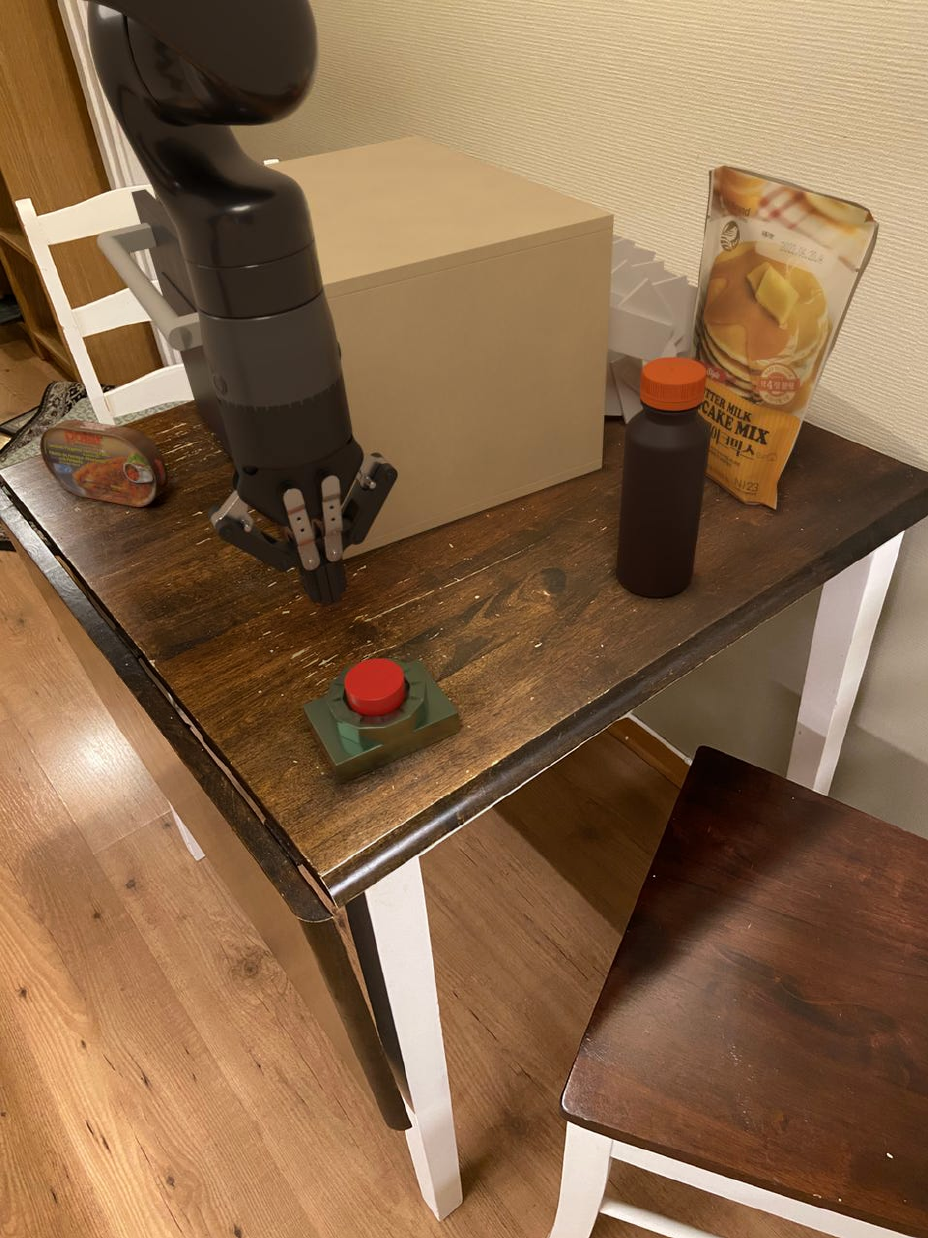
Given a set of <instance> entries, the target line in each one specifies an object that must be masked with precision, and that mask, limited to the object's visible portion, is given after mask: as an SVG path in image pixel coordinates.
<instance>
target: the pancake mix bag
mask: <svg viewBox="0 0 928 1238" xmlns="http://www.w3.org/2000/svg"><path fill="white" fill-rule="evenodd" d="M707 197H708V198H707V205H706V214H705V219H704V220H705V221H704V229H703V242H702V249H701V256H700V262H699V267H698V268H699V269H698V277H697V281H698V282H697V287H698V288H697V294H696V299H695V306H694V313H693V333H692V345H691V360H694V361H696V362H698V363H700V364H702V365H703V366H704V368H705V369H706V370H707V376H706V384H705V393H704V399H703V401H702V402H703V403H702V405H701V407H700V408H699V409H698V413H699V414H700V415H701V416H702V417H703V418H704V419H705V420H706V421H707V423H708V424H709V425H710V429H711V441H710V449H709V456H708V463H707V470H706V476H707V478H709V479H710V480H712V481H713V482H714V483H716V484H718V485H719V486H720V487H721V488H723V489H724V490H725V491H726V492H727V493H728V494H730V495H731V496H733V497H734V498H736V499H737V500H738V501H740V502H742V503H744V504H745V505H764V506H766V507H769V508H771V509H774V510H777V505H778V504H777V503H778V498H779V493H778V483H779V480H780V478H781V476H782V473H783V471H784V468H785V466H786V464H787V462H788V460H789V457H790V455H791V454H792V451H793V449H794V447H795V444H796V441H797V439H798V436H799V433H800V430H801V428H802V424H803V421H804V419H805V416H806V414H807V412H808V409H809V407H810V404H811V403H812V400H813V397H814V394H815V392H816V390H817V387H818V385H819V383H820V381H821V379H822V376H823V373H824V370H825V367H826V365H827V361H828V360H829V358H830V356H831V354H832V352H833V350H834V348H835V347H836V343H837V341H838V338H839V335H840V332H841V329H842V327H843V324H844V321H845V318H846V316H847V313H848V310H849V309H850V305H851V303H852V300H853V297H854V295H855V293H856V291H857V288H858V287H859V285H860V281H861V279H862V277H863V275H864V273H865V271H866V269H867V267H868V265H869V264H870V261H871V258H872V255H873V253H874V250H875V247H876V244H877V240H878V234H879V230H880V223H879V222H878V221H877V220H875V219H874V217H873V215H872V213H871V211H870V210H871V209H869V208H867V207H866V206H864V205H862V204H860V203H858V202H855V201H853V200H848V199H844V198H840V197H838V196H834V195H830V194H827V193H822V192H819V191H815V190H813V189H809V188H807V187H804V186H801V185H799V184H796V183H794V182H791V181H788V180H785V179H781V178H778V177H774V176H770V175H767V174H762V173H758V172H755V171H752V170H748V169H742V168H740V167H739V168H738V167H733V166H728V165H721V166H719V167H716V168H714V169H711V170H708V195H707Z"/></svg>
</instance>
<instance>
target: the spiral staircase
mask: <svg viewBox="0 0 928 1238" xmlns="http://www.w3.org/2000/svg"><path fill="white" fill-rule="evenodd" d="M636 243H637V242H636V241H634V240H632V239H629V238H627V237H623V236H619V235H616V234H614V233H613V242H612V264H611V285H610V306H609V327H608V349H607V370H606V391H605V412H604V416H622V418H623V422H624V423H625V424H626V425H627V424H628V422H629V421H630V420H631V418H632V417H633V416H635V415H636V414H637V413H638V412H640V411H641V410H642V409H643V406H642V405H641V403H640V387H641V386H640V385H641V372H642V368H643V366H644V365H646V364H647V363H649V362H650V361H652V360H656V359H659V358H666V357H680V358H687V359H691V345H692V333H693V313H694V306H695V299H696V294H697V288H698V286H695V285H692V284H689V283H690V280H688V275H687V274H681V275H677V274H675V273H673V272H671V271H670V270H667V269H665V260H664V259H656V260H655V257H656V251H654V250H650V249H646V248H641V247H636V246H635V245H636Z"/></svg>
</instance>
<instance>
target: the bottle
mask: <svg viewBox="0 0 928 1238" xmlns="http://www.w3.org/2000/svg"><path fill="white" fill-rule="evenodd" d="M706 376H707V370H706V369H705V368H704V366H703V365H702V364H700V363H698V362H696V361H694V360H691V359H687V358H680V357H666V358H659V359H656V360H652V361H650V362H649V363H647V364H646V365H644V366H643V368H642V372H641V385H640V386H641V387H640V403H641V405H642V406H643V409H642V410H641V411H640V412H638V413H637V414H636V415H635V416H633V417H632V418H631V420H630V421H629V422H628V424H626V426H625V432H624V433H625V434H624V450H623V463H622V478H621V493H620V507H619V524H618V541H617V553H616V554H617V555H616V568H615V569H616V573H615V574H616V577H617V579H618V581H619V583H620V584H621V585H622V586H623V587H624V588H625V589H626V590H627V591H630V592H632V593H634V594H636V595H639V596H643V597H647V598H665V597H671V596H673V595H676V594H679V593H680V592H682V591H684V590H685V589H686V588H687V587H688V586H689V584H690V582H691V580H692V578H693V571H694V564H695V558H696V557H695V556H696V549H697V542H698V536H699V528H700V520H701V513H702V507H703V506H702V505H703V498H704V491H705V484H706V478H707V477H706V470H707V463H708V456H709V449H710V441H711V429H710V425H709V424H708V423H707V421H706V420H705V419H704V418H703V417H702V416H701V415H700V414H699V413H698V409H699V408H700V407H701V405H702V403H703V402H702V401H703V399H704V393H705V384H706Z"/></svg>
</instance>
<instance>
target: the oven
mask: <svg viewBox="0 0 928 1238" xmlns="http://www.w3.org/2000/svg"><path fill="white" fill-rule="evenodd" d="M263 165H264V166H266V167H269V168H271V169H273V170H276V171H279V172H281V173H283V174H285V175H287V176H289V177H291V178H292V179H294V180H295V181H296V182H297V183H298V184H299V185H300V187H301V188H302V190H303V192H304V194H305V196H306V199H307V202H308V206H309V209H310V214H311V219H312V224H313V230H314V236H315V241H316V246H317V252H318V258H319V264H320V269H321V275H322V281H323V287H324V291H325V295H326V299H327V302H328V305H329V308H330V311H331V315H332V318H333V321H334V326H335V331H336V336H337V340H338V342H339V344H340V348H341V354H342V356H341V365H342V371H343V377H344V383H345V389H346V395H347V401H348V407H349V413H350V418H351V424H352V433H353V437H354V439H355V440H356V441H357V443H358V444H359V445H360V446H361V447H362V450H363V453H366V454H369V455H371V454H372V453H380V454H381V455H382V456H383V457H384V458H385V459H386V460H387V461H388V462H389V463H390V464H391V465H392V466H393V467H394V468H395V469H396V470H397V472H398V477H397V479H396V481H395V483H394V485H393V487H392V489H391V491H390V493H389V494H388V496H387V498H386V500H385V502H384V504H383V506H382V508H381V510H380V511H379V513H378V515H377V517H376V519H375V521H374V523H373V525H372V527H371V528H370V530H369V532H368V534H367V536H366V538H365V540H364V541H363V542H362V543H361V544H358V545H353V544H352V545H350V546H349V547H348V548H346V549H345V551H344V552H343V555H342V559H343V561H344V560H347V559H350V558H353V557H356V556H359V555H361V554H365V553H367V552H371V551H373V550H375V549H378V548H381V547H384V546H387V545H389V544H392V543H395V542H399V541H400V540H404V539H406V538H409V537H412V536H415V535H417V534H420V533H422V532H426V531H429V530H432V529H434V528H438V527H440V526H443V525H446V524H449V523H451V522H454V521H457V520H460V519H462V518H465V517H469V516H472V515H474V514H477V513H479V512H483V511H485V510H488V509H491V508H495V507H497V506H499V505H503V504H506V503H508V502H511V501H513V500H516V499H519V498H522V497H524V496H525V497H526V496H527V495H530V494H533V493H536V492H540V491H541V490H544V489H547V488H551V487H552V486H556V485H558V484H562V483H564V482H568V481H570V480H572V479H575V478H579V477H581V476H584V475H586V474H590V473H592V472H595V471H598V470H601V469H603V453H604V431H605V415H604V412H605V391H606V370H607V349H608V327H609V306H610V285H611V264H612V242H613V234H614V218H615V213H612V212H610V211H607V210H605V209H602V208H599V207H597V206H594V205H592V204H589V203H587V202H585V201H583V200H580V199H577V198H574V197H572V196H570V195H567V194H565V193H562V192H560V191H557V190H554V189H552V188H550V187H546V186H544V185H542V184H540V183H537V182H535V181H533V180H529V179H527V178H525V177H522V176H519V175H517V174H515V173H512V172H509V171H506V170H504V169H502V168H499V167H497V166H495V165H493V164H489V163H487V162H484V161H482V160H480V159H477V158H474V157H471V156H469V155H467V154H464V153H461V152H459V151H456V150H454V149H451V148H449V147H446V146H444V145H442V144H439V143H436V142H434V141H431V140H429V139H427V138H424V137H421V136H419V135H413V136H408V137H403V138H402V137H401V138H398V139H397V138H396V139H392V140H387V141H381V142H377V143H372V144H367V145H361V146H355V147H351V148H344V149H340V150H334V151H329V152H325V153H319V154H313V155H310V156H309V155H308V156H303V157H299V158H294V159H293V158H292V159H288V160H287V159H286V160H282V161H276V162H272V163H267V164H263ZM152 190H153V195H154V198H155V199H156V200H157V201H158V202H159V203H160V204H161V205H162V203H161V201H160V200H159V198H158V196H157V195H156V193H155V191H154V189H153V188H152ZM162 206H163V205H162ZM355 482H356V480H354V482H353V484H352V486H351V489H352V487H353V486H354V484H355ZM351 489H350V491H351ZM350 491H349V493H350ZM349 493H348V495H349ZM348 495H347V497H348ZM347 497H346V499H347ZM346 499H345V501H346ZM345 501H344V503H345ZM344 503H343V504H342V506H341V509H342V507H343V505H344Z"/></svg>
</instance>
